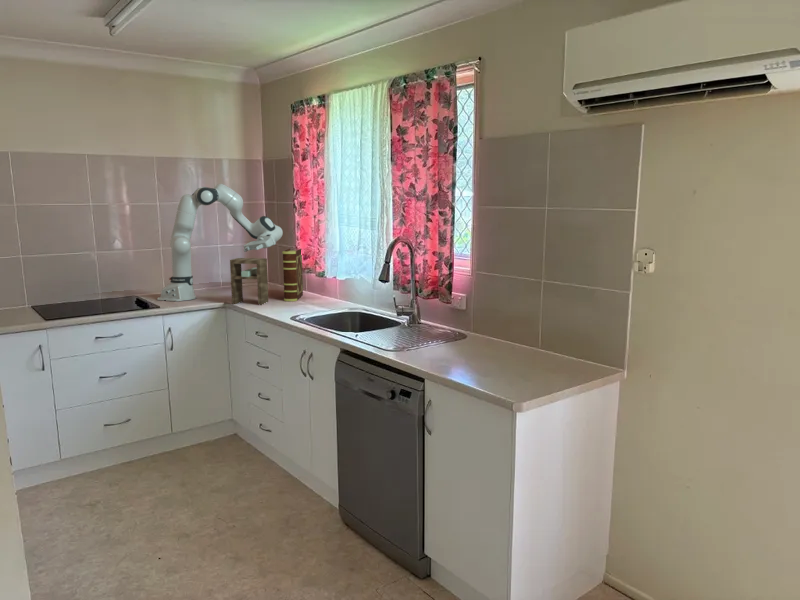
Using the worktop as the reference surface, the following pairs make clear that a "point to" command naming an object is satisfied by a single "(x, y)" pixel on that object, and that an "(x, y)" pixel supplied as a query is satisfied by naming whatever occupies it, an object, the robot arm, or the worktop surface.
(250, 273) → the pale green bar
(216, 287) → the worktop surface
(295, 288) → the decorative book
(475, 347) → the worktop surface
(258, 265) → the walnut shelf
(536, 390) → the worktop surface
